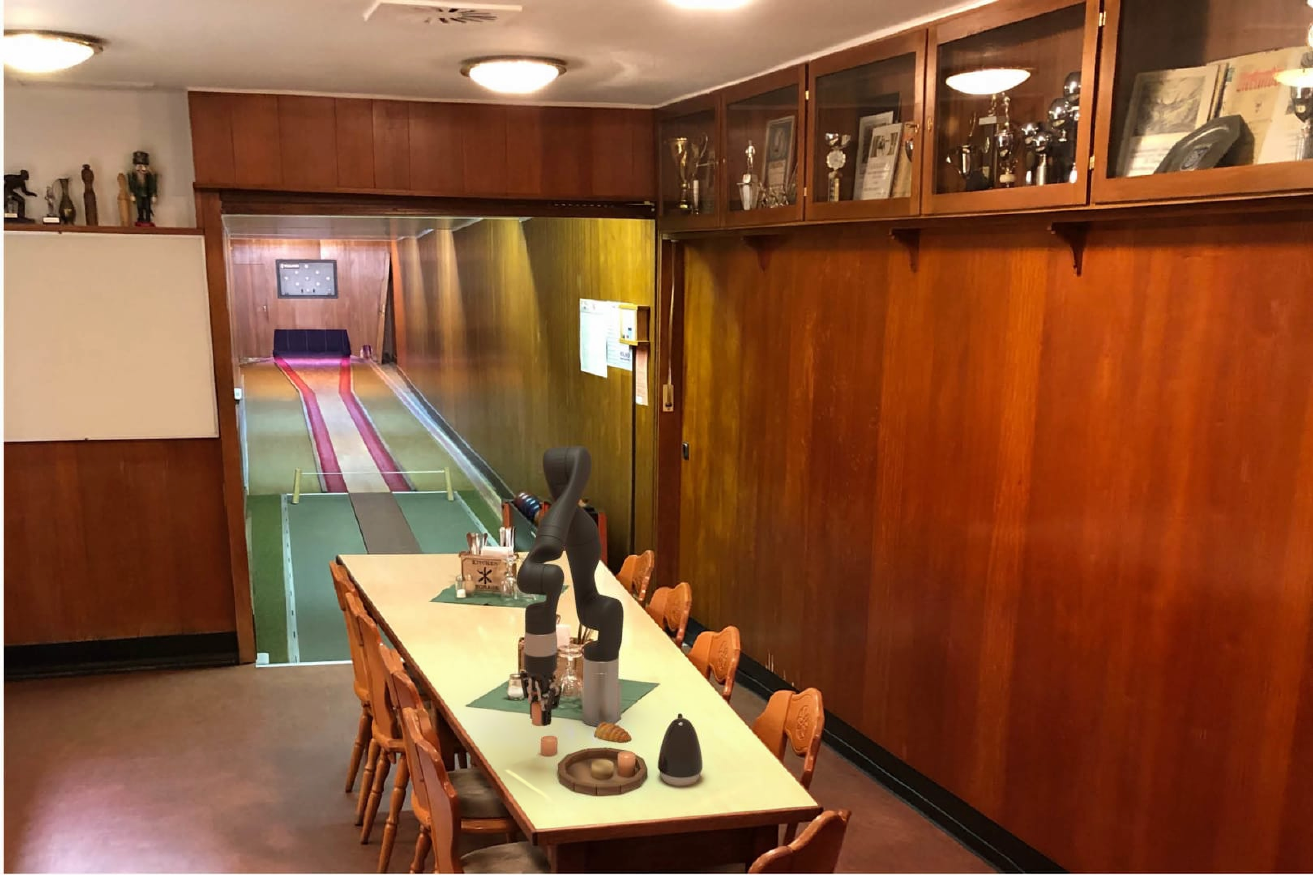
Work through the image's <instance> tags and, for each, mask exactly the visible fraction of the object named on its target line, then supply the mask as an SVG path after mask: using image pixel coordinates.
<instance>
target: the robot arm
mask: <svg viewBox="0 0 1313 875" xmlns="http://www.w3.org/2000/svg"><path fill="white" fill-rule="evenodd" d="M592 466H593V461H592V456H591V453H590V451H589V450H588V448H586V447H585V446H581V445H579V446H578V445H574V446H573V445H571V446H555V447H549V448H547V449H546V450H545V451H544V452H543V456H542V470H543V476H544V478H545V482H546V484H547V487H548V490H549V493H550V497H551V499H552V505H551V506H550V507H549V508H548V509H547V510H546V512H544V514H543V516H541V519H540V521H539V524H538V526H537V530H536V534H535V538H534V540H533V541H534V542H533V544H532V545H531V546H532V547H531V548H530V550H529V551H528V553H527V555H526V557H525V558H524V560H523V561H522V563H521V565H520V566H519V568H518V571H517V573H516V586H517V589H518V590H519V591H520V592H521V593H522V594H526V595H537V596H545V601H540V602H533V603H530V604H528V605H527V606H526V607H525V611H524V612H525V613H524V637H523V668H524V669H523V670H524V671H523V672H520V673H519V677H520V683H521V688H522V689H521V690H522V694H523V698H524V699H527V703H528V704H529V718H530V719H531V720H532V703H533V702H535V701H539V700H540V701H541V707H542V710H541V724H542V725H543V726H542V727H546V726H549V725H552V715H553V714H552V712H553V711H552V710H555V709H558V708H559V705H560V704H559V703H560V700H561V696H562V692H563V687H562V686H561V685H556V683H555V678H554V673H555V672H556V670H557V669H558V635H557V611H558V606H559V600H560V597H561V593H562V590H563V587H564V584H565V573H564V571H563V569H562V567H561V566H560V565H558V564H555V563H548V562H553V561H557V560H559V559H561V558H562V556H563V554H564V550H565V554H566V558H567V561H568V567H569V571H570V577H571V580H572V581H571V582H572V586H573V593H574V604H575V609H576V610H575V611H576V616H577V618H578V622H579V623H580V625H581V626H583V627H584V628H587V629H589V630H592V631H597V640H596V639H595V640H592V641H589V642H587V643H585V645H584V646H583V651H582V652H583V656H582V657H583V659H582V661H583V663H582V665H583V666H582V668H583V669H582V711H581V712H582V715H581V716H582V718H581V719H582V722H583V723H584V724H586V725H587V726H592V727H598V726H599V724H600V723H602V722H607V723H608V724H611V723H613V724H616V723H617V722H618V721H619V720H621V719H622V683H620V682H619V678H620V677H619V676H620V675H619V670H620V667H619V665H620V650H621V647H622V642H623V630H624V619H625V618H624V612H625V611H624V607H623V606H624V605H623V603H622V602H621V600H619V599H618V598H616V597H613V596H609V595H605V594H600V593H599V591H598V588H597V584H596V580H595V578H596V577H595V574H596V570H597V568H598V565H599V563H600V561H601V557H602V555H603V545H602V541H601V535H600V532H599V528H598V525H597V523H596V522H595V520H594V518H593V517H592V516H591V515H590V514H589V513H588V512H587V511H586V509H584V508H583V507H582V505H580V502H581V500H582V497H583V494H584V492H585V490H586V487H587V485H588V483H589V480H590V477H591V474H592ZM545 701H547V704H546V703H545Z"/></svg>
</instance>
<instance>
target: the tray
mask: <svg viewBox="0 0 1313 875" xmlns="http://www.w3.org/2000/svg"><path fill="white" fill-rule="evenodd" d="M622 751H627V750H625V749H621V748H614V747H608V746H607V747H606V746H605V747H589V748H583V749H581V750H578V751H577V750H576V751H574V752H572V753H567V754H566V755H565V756H564V757H563V758H562V759H561V760H560V761H559V762H558V763H557V776H558V781H559V783H560V784H561V785H562V786H564V787H565V788H567V789H569V790H570V791H572V792H574V793H578V794H583V795H588V796H589V795H590V796H594V797H596V796H597V797H605V796H606V797H607V796H618V795H619V796H620V795H623V794H625V793H630V792H632V791H634V790H636V789H639V788H640V787H641V786H642V785H643V784H644V783H645V781H646V780H647V779H648V772H649V770H648V766H647V764H646V761H645V759H644V758H643V757H641V756H639V755H638V754H636V753H635V775H634V776H632V777H621V776H619V775H618V753H619V752H622Z"/></svg>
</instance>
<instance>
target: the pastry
mask: <svg viewBox="0 0 1313 875" xmlns="http://www.w3.org/2000/svg"><path fill="white" fill-rule="evenodd" d="M593 737H594V738H596V739H597V740H601V741H605V742H608V743H609V742H610V743H611V742H613V743H618V744H625V743H629V742H630V741H632V736H631V735H630V734H629V732H628V731H626V730H625V729H624V728H622V727H621V726H620V725H616V723H614V724H613V723H611V724H608V723H607V722H602V723H600V724H599V726H596V728H595V730H594V733H593Z"/></svg>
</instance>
